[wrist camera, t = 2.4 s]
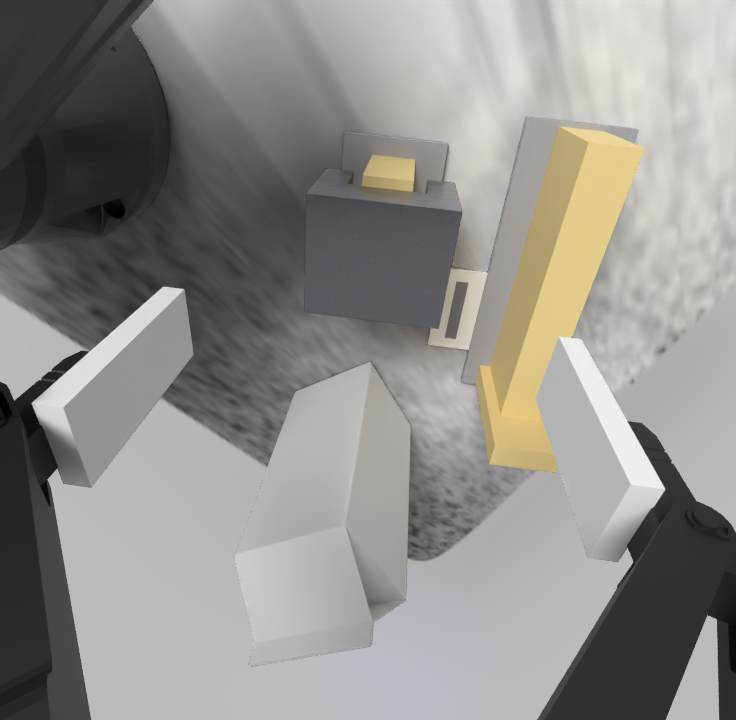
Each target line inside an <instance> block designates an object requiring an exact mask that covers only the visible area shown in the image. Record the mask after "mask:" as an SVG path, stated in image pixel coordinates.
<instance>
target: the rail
mask: <svg viewBox="0 0 736 720" xmlns="http://www.w3.org/2000/svg"><path fill="white" fill-rule="evenodd" d="M638 131H639V130H638V129H634V128H625V127H616V126H607V125H598V124H589V123H580V122H571V121H562V120H553V119H544V118H535V117H526V118H525V122H524V126H523V130H522V134H521V138H520V142H519V146H518V150H517V155H516V159H515V163H514V167H513V171H512V175H511V179H510V183H509V187H508V191H507V195H506V199H505V203H504V207H503V211H502V215H501V219H500V223H499V227H498V231H497V235H496V239H495V243H494V247H493V251H492V255H491V259H490V263H489V267H488V271H487V273H488V274H487V278H486V282H485V286H484V290H483V294H482V298H481V302H480V306H479V310H478V314H477V318H476V322H475V326H474V330H473V334H472V338H471V342H470V346H469V350H468V352H467V356H466V360H465V364H464V368H463V372H462V376H461V383H469V384H476V389H477V395H478V401H479V407H480V413H481V419H482V425H483V431H484V437H485V443H486V449H487V455H488V461H489V464H492V465H499V466H507V467H514V468H522V469H529V470H537V471H544V472H552V473H556V471H557V469H558V466H557V463H556V460H555V457H554V454H553V451H552V448H551V445H550V442H549V439H548V435H547V432H546V429H545V426H544V423H543V420H542V417H541V414H540V411H539V408H538V405H537V402H536V397H537V394H538V391H539V389H540V386H541V383H542V380H543V378H544V375H545V372H546V369H547V367H548V364H549V361H550V359H551V356H552V353H553V350H554V348H555V345H556V342H557V340H558V337H559V336H560V337H568V338H572V336H573V333H574V330H575V328H576V325H577V323H578V320H579V318H580V315H581V312H582V310H583V307H584V305H585V302H586V300H587V297H588V294H589V292H590V289H591V287H592V284H593V282H594V279H595V276H596V274H597V271H598V269H599V266H600V263H601V261H602V258H603V256H604V253H605V251H606V248H607V245H608V243H609V240H610V238H611V235H612V233H613V230H614V227H615V225H616V222H617V220H618V217H619V215H620V212H621V209H622V207H623V204H624V202H625V199H626V197H627V194H628V191H629V189H630V186H631V184H632V181H633V179H634V176H635V173H636V171H637V168H638V166H639V163H640V161H641V158H642V155H643V153H644V150H645V148H643V147H640V146H638V145H636V144H634V142H635V139H636V136H637V134H638Z"/></svg>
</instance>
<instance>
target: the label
mask: <svg viewBox="0 0 736 720" xmlns="http://www.w3.org/2000/svg"><path fill="white" fill-rule="evenodd" d="M487 274H488V273H487V272H479V271H471V270H463V269H454V268H451V271H450V276H449V281H448V286H447V291H446V296H445V301H444V306H443V311H442V316H441V321H440V326H439V329H435V328H431V329H430V334H429V339H428V345H433V346H441V347H449V348H457V349H465V350H469V346H470V342H471V338H472V334H473V330H474V326H475V322H476V318H477V314H478V310H479V306H480V302H481V298H482V294H483V290H484V286H485V282H486V278H487Z"/></svg>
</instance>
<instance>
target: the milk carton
mask: <svg viewBox="0 0 736 720" xmlns="http://www.w3.org/2000/svg"><path fill="white" fill-rule="evenodd" d="M410 437H411V426H410V424H409V422H408V421H407V419H406V418H405V416H404V414H403V413H402V411H401V410H400V408H399V406H398V405H397V403H396V402H395V400H394V398H393V397H392V395H391V394H390V392H389V390H388V389H387V387H386V386H385V384H384V382H383V381H382V379H381V377H380V376H379V374H378V373H377V371H376V369H375V368H374V366H373V365H372V363H371V362H368V363H366V364H363V365H360V366H358V367H355V368H353V369H350V370H348V371H345V372H343V373H340V374H338V375H335V376H333V377H330V378H328V379H325V380H323V381H320V382H318V383H315V384H313V385H310V386H308V387H305V388H303V389H301V390H298V391H296V392H295V394H294V397H293V399H292V402H291V405H290V407H289V410H288V413H287V415H286V418H285V421H284V424H283V426H282V429H281V432H280V434H279V437H278V440H277V442H276V445H275V448H274V451H273V453H272V456H271V459H270V461H269V464H268V467H267V470H266V472H265V475H264V478H263V480H262V483H261V486H260V488H259V491H258V494H257V496H256V499H255V502H254V505H253V507H252V510H251V513H250V516H249V518H248V521H247V524H246V526H245V529H244V532H243V534H242V537H241V540H240V543H239V545H238V548H237V551H236V554H235V555H234V559H235V564H236V568H237V572H238V576H239V581H240V585H241V589H242V593H243V598H244V601H245V606H246V610H247V614H248V619H249V623H250V627H251V632H252V636H253V640H254V646H253V649H252V653H251V656H250V660H249V664H248V665H249V666H251V667H253V666H259V665H265V664H271V663H277V662H283V661H289V660H295V659H301V658H306V657H312V656H318V655H323V654H330V653H335V652H342V651H348V650H353V649H360V648H366V647H370V646H371V645H372V638H373V626H374V622H375V621H377V620H378V619H380V618H381V617H383V616H384V615H386V614H387V613H388V612H390V611H391V610H393V609H394V608H396V607H397V606H399V605H400V604H402V603H403V602H404V601H406V587H407V552H408V514H409V475H410Z"/></svg>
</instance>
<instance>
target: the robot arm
mask: <svg viewBox="0 0 736 720" xmlns="http://www.w3.org/2000/svg"><path fill="white" fill-rule="evenodd" d="M153 1H154V0H0V250H2V249H4V248H6V247H8V246H10V245H18V244H44V243H69V242H82V241H88V240H92V239H96V238H99V237H102V236H105V235H108V234H110V233H112V232H114V231H116V230H117V229H119V228H121V227H122V226H124V225H126V224H128V223H129V222H131V221H133V220H134V219H136V218H137V217H138V216H140V215H141V214H142V213H143V212H144V211H145V210H146V209H147V208H148V207H149V206H150V204H151V203H152V202H153V200H154V199H155V197H156V195H157V194H158V192H159V190H160V188H161V185H162V183H163V180H164V177H165V174H166V170H167V165H168V158H169V144H170V140H169V125H168V117H167V111H166V107H165V102H164V98H163V95H162V91H161V88H160V85H159V82H158V80H157V77H156V74H155V72H154V70H153V67H152V65H151V63H150V61H149V59H148V57H147V55H146V53H145V51H144V49H143V47H142V45H141V44H140V42H139V40H138V39H137V37H136V36H135V34H134V32H133V31H132V29H131V28H130V27H131V25H132V24H133V23H134V22H135V21H136V20H137V19H138V18H139V16H140V15H141V14H142V13H143V12H144V11H145V10H146V9H147V7H148V6H149V5H150V4H151V3H152V2H153ZM193 355H194V353H193V346H192V339H191V332H190V325H189V318H188V310H187V303H186V296H185V289H179V288H171V287H162V288H161V289H160V290H159V291H158V292H157V293H155V294H154V295H153V296H152V297H151V298H150V299H149V300H148V301H146V302H145V303H144V304H143V305H142V306H141V307H140V308H139V309H137V310H136V311H135V312H134V313H133V314H132V315H131V316H129V317H128V318H127V319H126V320H125V321H124V322H123V323H122V324H120V325H119V326H118V327H117V328H116V329H115V330H114V331H113V332H111V333H110V334H109V335H108V336H107V337H106V338H105V339H103V340H102V341H101V342H100V343H99V344H98V345H97V346H96V347H94V348H93V349H92V350H91V351H90V352H88V351H80V352H78V353H76V354H74V355H72V356H69V357H67V358H65V359H64V360H62V362H60V363H59V364H58V365H56V366H55V367H54V368H53V369H52V371H51V372H48V373H47V374H46V375H45V376H43V377H42V380H39V381H38V382H36V383H35V384H34V385H33V386H31V387H30V388H29V389H28V390H27V391H26V392H24V393H23V394H22V395H21V396H20V397H18V398H17V399H16V400H15V401H14V399H13V397H12V395H11V393H10V390H9V388H8V387H7V385H6V384H4V383H1V382H0V720H91V717H90V712H89V706H88V699H87V693H86V688H85V682H84V676H83V670H82V665H81V659H80V653H79V647H78V642H77V636H76V630H75V624H74V619H73V613H72V607H71V601H70V595H69V590H68V584H67V578H66V572H65V567H64V561H63V555H62V550H61V544H60V538H59V532H58V526H57V520H56V515H55V509H54V503H53V498H52V492H51V487H50V485H49V483H48V480H47V479H48V478H49V477H50V476H51V475H52V473H53V472H54V471H55V470H56V469H58V471H59V474H60V476H61V479H62V481H63V484H69V485H76V486H83V487H90V488H91V487H92V486H93V485H94V484H95V482H96V481H97V480H98V478H99V477H100V476H101V475H102V473H103V472H104V471H105V469H106V468H107V467H108V465H109V464H110V463H111V461H112V460H113V459H114V458H115V456H116V455H117V454H118V452H119V451H120V450H121V448H122V447H123V446H124V445H125V443H126V442H127V441H128V439H129V438H130V437H131V436H132V434H133V433H134V432H135V430H136V429H137V428H138V426H139V425H140V424H141V423H142V421H143V420H144V418H145V417H146V416H147V415H148V413H149V412H150V411H151V410H152V408H153V407H154V406H155V404H156V403H157V402H158V400H159V399H160V398H161V397H162V395H163V394H164V393H165V391H166V390H167V389H168V387H169V386H170V385H171V384H172V382H173V381H174V380H175V378H176V377H177V376H178V374H179V373H180V372H181V371H182V369H183V368H184V367H185V365H186V364H187V363H188V361H189V360H190V359H191V358H192V356H193ZM536 402H537V405H538V408H539V411H540V414H541V417H542V420H543V423H544V426H545V429H546V432H547V435H548V439H549V442H550V445H551V448H552V451H553V454H554V457H555V460H556V463H557V466H558V469H559V472H560V475H561V478H562V481H563V484H564V487H565V489H566V493H567V496H568V499H569V502H570V505H571V508H572V511H573V514H574V517H575V520H576V523H577V526H578V529H579V532H580V535H581V538H582V541H583V544H584V548H585V550H586V554H587V557H588V558H593V559H600V560H607V561H614V562H618V561H619V559H620V558H621V557H622V555H623V554H624V552H625V551H626V549H627V548H628V550H629V552H630V554H631V557H632V559H633V564H632V565H631V567H630V568H629V570H628V571H627V573H626V574H625V576H624V577H623V579H622V580H621V581H620V583H619V584H618V586H617V587H618V588H617V589H616V591H615V593H614V595H613V596H612V598H611V599H610V601H609V603H608V604H607V606H606V608H605V609H604V611H603V612H602V614H601V616H600V617H599V619H598V621H597V622H596V624H595V626H594V628H593V629H592V631H591V632H590V634H589V635H588V637H587V639H586V640H585V642H584V644H583V645H582V647H581V649H580V650H579V652H578V654H577V655H576V657H575V658H574V660H573V662H572V663H571V665H570V667H569V668H568V670H567V672H566V673H565V675H564V677H563V678H562V680H561V681H560V683H559V685H558V686H557V688H556V690H555V691H554V693H553V695H552V696H551V698H550V700H549V702H548V703H547V705H546V706H545V708H544V709H543V711H542V713H541V714H540V716H539V718H538V719H537V720H666V717H667V715H668V712H669V710H670V707H671V705H672V702H673V699H674V697H675V695H676V692H677V690H678V687H679V685H680V682H681V680H682V677H683V675H684V672H685V670H686V667H687V665H688V662H689V659H690V657H691V655H692V652H693V650H694V647H695V644H696V642H697V640H698V637H699V635H700V632H701V630H702V627H703V624H704V622H705V619H706V617H707V615H708V616H711V617H713V618H716V619H717V638H718V679H719V680H718V681H719V720H736V532H735V531H734V529H733V527H732V525H731V524H730V523H729V522H728V521H727V520H726V519H725V518H724V517H723V515H721V514H720V513H718V512H717V511H715V510H714V509H712V508H711V507H709V506H706V505H704V504H702V503H700V502H697V501H696V500H695V498H694V497H693V495H692V493H691V492H690V490H689V488H688V487H687V485H686V484H685V482H684V480H683V479H682V477H681V476H680V474H679V472H678V471H677V469H676V467H675V466H674V464H672V463H671V459H670V458H669V456H668V454H667V453H666V452H664V451H665V450H664V448H663V446H662V445H661V443H660V441H659V440H658V438H657V437H656V435H654V434H653V433H652V432H651V431H650V430H649V429H648V428H646V427H645V426H644V425H643V424H642V423H636V422H629V421H627V420H626V418H625V416H624V415H623V413H622V411H621V409H620V408H619V406H618V404H617V402H616V400H615V399H614V397H613V395H612V393H611V391H610V390H609V388H608V386H607V384H606V383H605V381H604V379H603V377H602V375H601V374H600V372H599V370H598V368H597V367H596V365H595V363H594V361H593V359H592V358H591V356H590V354H589V352H588V351H587V349H586V347H585V345H584V343H583V342H582V340H581V339H575V338H568V337H560V336H559V337H558V340H557V342H556V345H555V348H554V350H553V353H552V356H551V359H550V361H549V364H548V367H547V369H546V372H545V375H544V378H543V380H542V383H541V386H540V389H539V391H538V394H537V397H536Z"/></svg>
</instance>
